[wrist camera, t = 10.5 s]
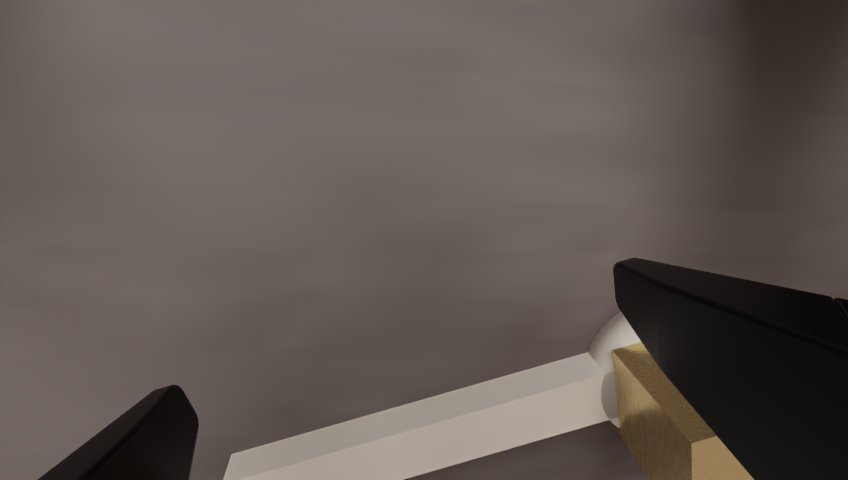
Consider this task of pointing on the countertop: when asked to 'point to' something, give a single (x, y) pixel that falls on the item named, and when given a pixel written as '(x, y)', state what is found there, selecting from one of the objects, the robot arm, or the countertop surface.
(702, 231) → the countertop surface
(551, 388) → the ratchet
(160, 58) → the countertop surface
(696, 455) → the tan cardboard cube
